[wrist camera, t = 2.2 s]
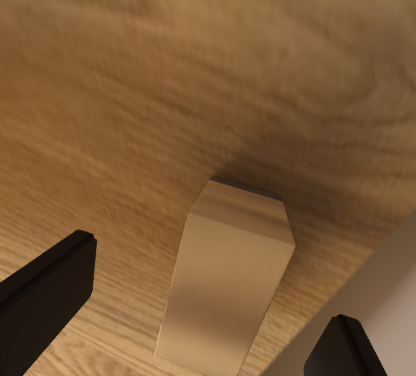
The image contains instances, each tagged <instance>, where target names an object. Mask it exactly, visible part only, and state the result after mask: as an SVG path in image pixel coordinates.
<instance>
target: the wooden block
mask: <svg viewBox="0 0 416 376" xmlns="http://www.w3.org/2000/svg"><path fill="white" fill-rule="evenodd" d="M295 248H296V245H295V241H294V238H293V234H292V231H291V228H290V224H289V221H288V218H287V214H286V211H285V207H284V204H283V202H282V198H281V196H280V195H277V194H274V193H270V192H267V191H263V190H260V189H257V188H253V187H250V186H246V185H243V184H240V183H236V182H233V181H229V180H226V179H223V178H219V177H216V176H212V177H211V178H210V180H209V181H208V182H207V184H206V185H205V187H204V188H203V190H202V191H201V193H200V194H199V196H198V197H197V199H196V201H195V202H194V204H193V205H192V207H191V208H190V210H189V211H188V213H187V216H186V221H185V225H184V229H183V233H182V238H181V242H180V246H179V250H178V255H177V259H176V263H175V267H174V272H173V276H172V280H171V284H170V289H169V293H168V297H167V301H166V305H165V310H164V314H163V318H162V322H161V327H160V331H159V335H158V339H157V344H156V348H155V352H154V355H155V356H157V357H159V358H162V359H164V360H167V361H170V362H172V363H175V364H177V365H180V366H183V367H185V368H188V369H190V370H193V371H196V372H198V373H201V374H203V375H206V376H238V374H239V371H240V369H241V367H242V365H243V363H244V360H245V358H246V356H247V354H248V352H249V349H250V347H251V345H252V343H253V341H254V338H255V336H256V334H257V332H258V330H259V327H260V325H261V323H262V321H263V318H264V316H265V314H266V312H267V310H268V307H269V305H270V303H271V301H272V299H273V296H274V294H275V292H276V290H277V288H278V285H279V283H280V281H281V279H282V277H283V274H284V272H285V270H286V268H287V265H288V263H289V261H290V259H291V257H292V254H293V252H294V250H295Z"/></svg>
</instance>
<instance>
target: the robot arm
mask: <svg viewBox="0 0 416 376" xmlns="http://www.w3.org/2000/svg"><path fill="white" fill-rule="evenodd" d="M96 246H97V240H96V239H95V238H94V235H93V234H92V233H89V232H86V231H83V230H76V231H74V232H73V233H72V234H70V235H69V236H67V237H66V238H64V239H63V240H61V241H60V242H59V243H57V244H56V245H54V246H53V247H51V248H50V249H48V250H47V251H45V252H44V253H43V254H41V255H40V256H38V257H37V258H35V259H34V260H32V261H31V262H29V263H28V264H27V265H25V266H24V267H22V268H21V269H19V270H18V271H16V272H15V273H13V274H12V275H11V276H9V277H8V278H6V279H5V280H3V281H2V282H0V376H23V375H24V374H25V372H26V371H27V370H28V369H29V368H30V367H31V365H32V364H33V363H34V362H35V361H36V360H37V358H38V357H39V356H40V355H41V354H42V353H43V351H44V350H45V349H46V348H47V347H48V346H49V344H50V343H51V342H52V341H53V340H54V339H55V337H56V336H57V335H58V334H59V333H60V332H61V330H62V329H63V328H64V327H65V326H66V325H67V324H68V322H69V321H70V320H71V319H72V318H73V317H74V315H75V314H76V313H77V312H78V311H79V310H80V308H81V307H82V306H83V305H84V304H85V303H86V301H87V300H88V299H89V297H90V296H91V294H92V290H93V280H94V269H95V258H96ZM304 376H387V374H386V372H385V370H384V368H383V366H382V364H381V362H380V360H379V358H378V356H377V355H376V352H375V351H374V349H373V347H372V345H371V343H370V341H369V339H368V337H367V335H366V333H365V331H364V329H363V327H362V325H361V323H360V322H359V321H358V320H357V319H354V318H351V317H348V316H345V315H342V314H340V315H337V317H332V319H331V320H330V322H329V323H328V325H327V327H326V329H325V330H324V332H323V334H322V336H321V337H320V339H319V340H318V342H317V344H316V346H315V347H314V349H313V351H312V352H311V354H310V356H309V357H308V359H307V361H306V363H305V365H304Z"/></svg>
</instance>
